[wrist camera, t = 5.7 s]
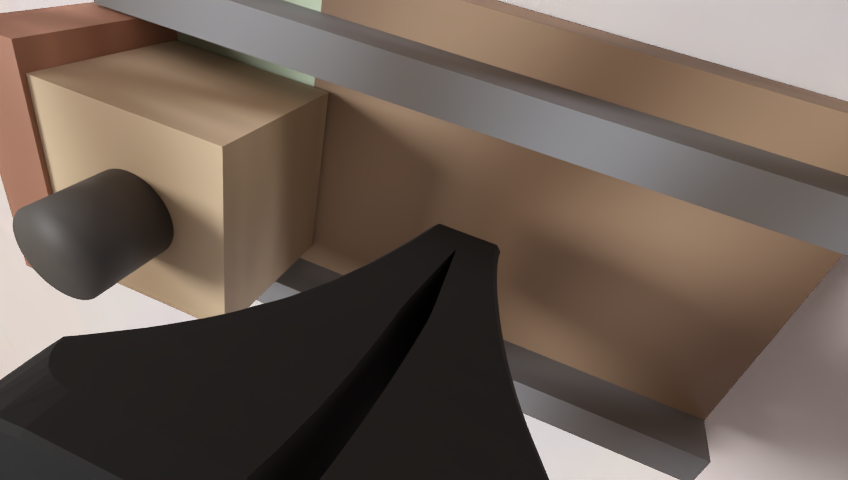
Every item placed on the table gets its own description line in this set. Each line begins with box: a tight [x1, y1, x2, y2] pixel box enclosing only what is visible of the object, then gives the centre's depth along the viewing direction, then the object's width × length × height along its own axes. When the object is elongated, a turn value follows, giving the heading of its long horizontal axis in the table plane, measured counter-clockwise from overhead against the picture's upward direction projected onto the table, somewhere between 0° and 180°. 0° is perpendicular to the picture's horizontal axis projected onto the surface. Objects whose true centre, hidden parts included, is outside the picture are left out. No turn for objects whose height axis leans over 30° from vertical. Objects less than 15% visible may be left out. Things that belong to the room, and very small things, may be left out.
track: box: [0, 0, 848, 480], centre depth 11 cm, size 16×9×5 cm, turn 77°
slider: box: [13, 40, 329, 319], centre depth 11 cm, size 4×4×5 cm
